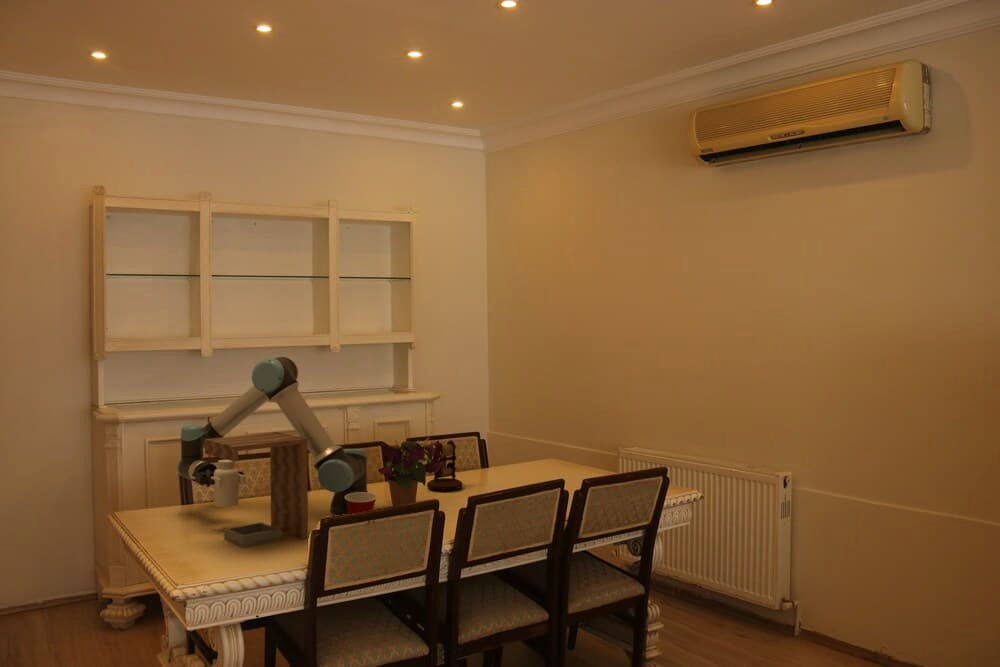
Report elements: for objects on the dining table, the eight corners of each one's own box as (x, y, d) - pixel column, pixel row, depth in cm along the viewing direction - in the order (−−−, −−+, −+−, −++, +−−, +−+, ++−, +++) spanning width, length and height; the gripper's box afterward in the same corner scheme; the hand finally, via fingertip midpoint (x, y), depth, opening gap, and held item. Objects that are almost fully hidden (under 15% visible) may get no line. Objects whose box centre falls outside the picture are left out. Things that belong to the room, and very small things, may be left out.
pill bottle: (243, 503, 291) (243, 459, 290) (228, 508, 283) (228, 463, 283) (224, 501, 293) (223, 458, 293) (208, 506, 286) (208, 461, 285)
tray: (224, 539, 275) (224, 528, 275) (261, 532, 284) (261, 522, 284) (243, 547, 266) (242, 536, 266) (280, 540, 274) (280, 529, 274)
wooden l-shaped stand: (205, 539, 275) (204, 439, 274) (276, 526, 292) (275, 432, 291) (235, 553, 260) (234, 446, 259) (307, 538, 277) (307, 438, 276)
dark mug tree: (447, 484, 365) (447, 437, 365) (469, 489, 354) (469, 441, 354) (419, 488, 355) (419, 441, 355) (442, 494, 344) (441, 445, 344)
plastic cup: (350, 536, 279) (350, 500, 278) (340, 529, 288) (340, 494, 288) (381, 532, 284) (381, 496, 283) (371, 525, 293) (371, 490, 293)
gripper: (231, 479, 308) (261, 488, 291) (174, 487, 294) (202, 497, 277) (231, 458, 308) (261, 466, 291) (174, 465, 294) (202, 474, 277)
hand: (232, 481), depth 284 cm, fingers closed on pill bottle, 8 cm apart
